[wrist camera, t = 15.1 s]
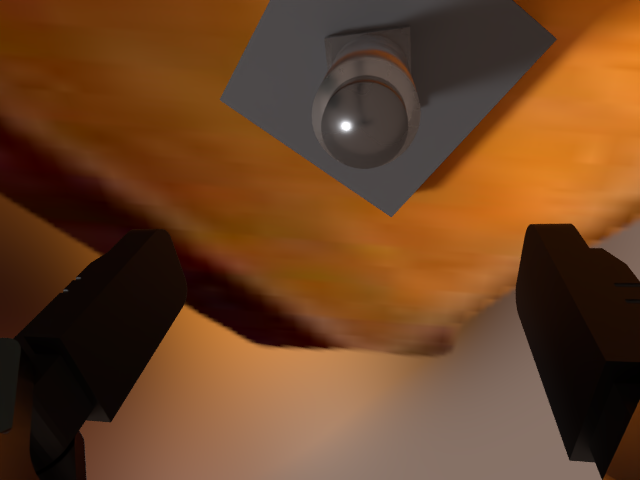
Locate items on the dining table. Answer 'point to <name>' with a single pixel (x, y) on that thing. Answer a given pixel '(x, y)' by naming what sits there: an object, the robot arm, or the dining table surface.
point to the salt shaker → (367, 98)
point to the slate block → (426, 69)
